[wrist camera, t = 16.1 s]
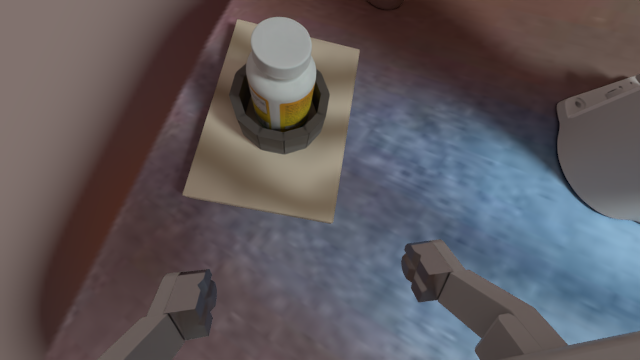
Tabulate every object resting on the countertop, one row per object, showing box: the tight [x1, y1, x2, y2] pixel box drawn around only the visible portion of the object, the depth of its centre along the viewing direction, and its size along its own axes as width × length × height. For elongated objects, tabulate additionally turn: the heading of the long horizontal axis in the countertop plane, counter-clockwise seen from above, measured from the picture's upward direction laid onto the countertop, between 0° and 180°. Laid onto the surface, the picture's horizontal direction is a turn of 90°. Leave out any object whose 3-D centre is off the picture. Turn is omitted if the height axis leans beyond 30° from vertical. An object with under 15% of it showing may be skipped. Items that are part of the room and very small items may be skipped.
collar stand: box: [182, 19, 360, 224], centre depth 24 cm, size 20×14×5 cm
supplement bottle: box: [246, 17, 316, 132], centre depth 21 cm, size 5×5×10 cm
